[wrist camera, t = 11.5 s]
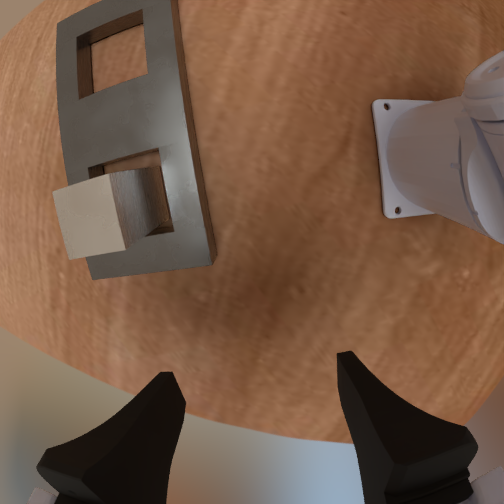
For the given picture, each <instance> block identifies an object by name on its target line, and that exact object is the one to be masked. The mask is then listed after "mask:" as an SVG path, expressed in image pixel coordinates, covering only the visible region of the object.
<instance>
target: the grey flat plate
mask: <svg viewBox="0 0 504 504" xmlns="http://www.w3.org/2000/svg"><path fill="white" fill-rule="evenodd" d="M141 23H144V36H145V47H146V58H147V67H148V74H146V75H143V76H140V77H137V78H134V79H131V80H128V81H125V82H123V83H120V84H117V85H114V86H112V87H109V88H106V89H104V90H101V91H99V92H96V93H94V94H93V89H92V76H91V56H90V44H91V43H93V42H96V41H98V40H100V39H102V38H105V37H107V36H109V35H112V34H114V33H117V32H119V31H122V30H124V29H127V28H130V27H132V26H135V25H138V24H141ZM56 82H57V101H58V114H59V125H60V134H61V142H62V150H63V157H64V163H65V169H66V175H67V181H68V186H71V185H74V184H77V183H80V182H83V181H86V180H89V179H92V178H96V177H99V176H102V175H104V173H103V167H102V166H103V165H107V164H110V163H113V162H117V161H120V160H124V159H127V158H131V157H135V156H138V155H142V154H146V153H150V152H154V151H158V150H159V154H160V160H161V165H162V171H163V176H164V182H165V187H166V192H167V198H168V203H169V208H170V213H171V217H172V222H173V226H171V227H165V228H159V229H154V230H153V231H151V232H150V233H148V234H147V235H146V236H144V237H143V238H141V239H140V240H139V241H137V242H136V243H135V244H133V245H132V246H131V247H129V248H128V249H126V250H123V251H117V252H111V253H105V254H99V255H93V256H88V257H86V260H87V264H88V267H89V270H90V274H91V277H92V280H96V279H105V278H113V277H121V276H129V275H137V274H145V273H153V272H162V271H170V270H177V269H185V268H193V267H201V266H209V265H212V264H213V262H214V260H215V258H216V256H217V251H216V246H215V241H214V236H213V231H212V225H211V220H210V215H209V209H208V204H207V198H206V193H205V187H204V182H203V176H202V170H201V164H200V158H199V152H198V146H197V140H196V134H195V128H194V122H193V115H192V109H191V102H190V95H189V88H188V82H187V74H186V67H185V60H184V52H183V45H182V37H181V29H180V21H179V12H178V3H177V0H102V1H100V2H97V3H95V4H93V5H91V6H89V7H87V8H85V9H83V10H81V11H79V12H77V13H75V14H73V15H71V16H70V17H68V18H66V19H64V20H62V21H61V22H59V23H57V38H56Z"/></svg>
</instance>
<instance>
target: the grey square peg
mask: <svg viewBox="0 0 504 504" xmlns="http://www.w3.org/2000/svg"><path fill="white" fill-rule="evenodd" d="M53 197H54V202H55V207H56V211H57V215H58V220H59V224H60V228H61V232H62V235H63V239H64V243H65V246H66V250H67V253H68V257H69V260H70V259H76V258H82V257H88V256H93V255H99V254H105V253H111V252H117V251H123V250H126V249H128V248H129V247H131V246H132V245H133V244H135V243H136V242H137V241H139V240H140V239H141V238H143V237H144V236H146V235H147V234H148V233H150V232H151V231H153V230H154V229H155V228H157V227H158V226H160V225H161V224H162V223H164V222H165V221H167V220H168V219H170V217H169V212H168V207H167V202H166V197H165V192H164V187H163V182H162V176H161V171H160V166H155V167H148V168H141V169H134V170H127V171H121V172H115V173H109V174H106V175H102V176H99V177H96V178H92V179H89V180H86V181H83V182H80V183H77V184H74V185H71V186H68V187H65V188H62V189H59V190H56V191H53Z"/></svg>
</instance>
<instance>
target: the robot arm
mask: <svg viewBox="0 0 504 504" xmlns="http://www.w3.org/2000/svg"><path fill="white" fill-rule="evenodd" d="M384 104H387V105H388V107H389V108H388V110H385V109H384ZM372 112H373V118H374V125H375V132H376V139H377V147H378V156H379V165H380V175H381V187H382V201H383V213H384V215H385V216H386V217H388V218H391V219H393V218H401V217H410V216H418V215H427V214H439V215H441V216H443V217H446V218H448V219H450V220H453V221H455V222H457V223H459V224H462V225H464V226H466V227H468V228H470V229H473V230H475V231H477V232H479V233H481V234H483V235H485V236H487V237H489V238H491V239H494V240H496V241H498V242H500V243H502V244H504V50H503V51H501V52H499V53H497V54H496V55H494V56H492V57H491V58H489V59H487V60H486V61H484V62H483V63H482V64H480V65H479V66H478V67H476V68H475V69H474V70H473V71H472V72H471V73H470V74H469V75H468V76H467V78H466V80H465V85H464V91H463V93H462V95H461V96H458V97H453V98H449V99H445V100H441V101H423V100H394V99H378V100H375V101H374V102H373V103H372ZM396 207H399V212H398V213H395V208H396ZM337 378H338V391H339V396H340V401H341V406H342V409H343V412H344V415H345V418H346V421H347V424H348V427H349V430H350V434H351V437H352V440H353V443H354V446H355V450H356V453H357V458H358V463H359V469H360V475H361V481H362V487H363V495H364V502H365V504H504V470H503V468H502V467H501V466H498V467H496V468H495V469H493V470H491V471H489V472H488V473H486V474H484V475H482V476H480V477H479V478H477V479H475V480H474V481H473V482H471V483H470V482H469V480H468V477H469V476H470V473H469V471H468V468H467V467H468V466H469V464H470V463H471V461H472V460H473V458H474V457H475V454H476V453H477V450H478V445H477V442H476V440H475V439H474V437H473V435H472V434H471V433H470V431H469V430H468V429H467V427H465V426H461V425H458V424H455V423H451V422H448V421H445V420H442V419H440V418H437V417H435V416H432V415H430V414H428V413H426V412H424V411H422V410H420V409H418V408H417V407H415V406H413V405H412V404H410V403H408V402H407V401H405V400H404V399H402V398H401V397H399V396H398V395H397V394H395V393H394V392H393V391H391V390H390V389H389V388H388V387H387V386H385V385H384V384H383V383H382V382H381V381H380V380H379V379H378V378H377V377H376V376H374V375H373V374H372V373H371V372H370V371H369V370H368V369H367V368H366V366H365V365H364V364H363V363H362V362H361V361H360V360H359V359H358V358H357V356H356V355H355V354H354V353H353V352H352V351H346V352H341V353H337ZM185 407H186V401H185V399H184V397H183V395H182V392H181V390H180V388H179V386H178V383H177V381H176V379H175V376H174V374H173V372H160V373H159V374H158V375H157V376H156V377H155V378H154V379H152V380H151V381H150V382H149V384H148V385H147V386H146V387H145V388H144V389H143V390H141V391H140V392H139V393H138V394H137V395H136V396H135V397H134V398H133V399H132V400H131V401H130V402H129V403H128V404H127V405H126V406H124V407H123V408H122V409H121V410H120V411H119V412H117V413H116V414H115V415H114V416H112V417H111V418H110V419H108V420H107V421H106V422H104V423H103V424H101V425H100V426H98V427H96V428H95V429H93V430H91V431H89V432H88V433H86V434H84V435H82V436H80V437H78V438H76V439H74V440H71V441H69V442H67V443H64V444H61V445H58V446H55V447H52V448H48V449H47V450H46V451H45V453H44V455H43V456H42V458H41V460H40V462H39V463H38V465H37V471H38V472H39V474H40V475H41V476H42V477H43V478H44V479H45V480H46V481H47V482H48V483H49V484H50V485H51V486H52V487H53V488H54V489H56V490H57V491H58V492H59V495H58V497H56V496H55V495H53V494H51V493H49V492H47V491H45V490H42V489H40V488H38V487H35V489H34V491H33V493H32V495H31V497H30V498H29V501H28V503H27V504H166V498H167V488H168V480H169V474H170V467H171V463H172V459H173V455H174V452H175V448H176V445H177V442H178V439H179V435H180V432H181V428H182V424H183V421H184V414H185Z"/></svg>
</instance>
